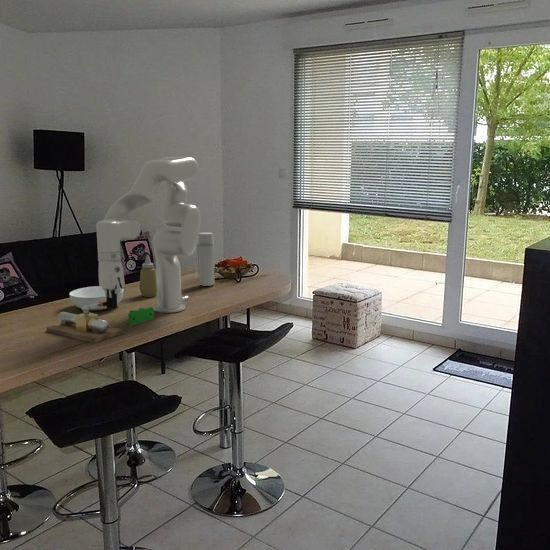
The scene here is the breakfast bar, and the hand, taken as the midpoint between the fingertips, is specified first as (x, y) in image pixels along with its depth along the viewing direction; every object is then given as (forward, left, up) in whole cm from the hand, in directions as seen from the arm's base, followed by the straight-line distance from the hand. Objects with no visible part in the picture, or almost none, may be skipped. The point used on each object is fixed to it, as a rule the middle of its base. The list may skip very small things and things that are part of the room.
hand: (112, 307), depth 203 cm
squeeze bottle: (-43, -25, -8) cm, 50 cm away
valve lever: (+4, -3, -1) cm, 5 cm away
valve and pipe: (+9, -5, -6) cm, 12 cm away
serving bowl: (-17, -28, -8) cm, 34 cm away
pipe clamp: (-12, +1, -8) cm, 15 cm away
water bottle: (-73, -18, -8) cm, 76 cm away
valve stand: (+9, -5, -8) cm, 13 cm away
